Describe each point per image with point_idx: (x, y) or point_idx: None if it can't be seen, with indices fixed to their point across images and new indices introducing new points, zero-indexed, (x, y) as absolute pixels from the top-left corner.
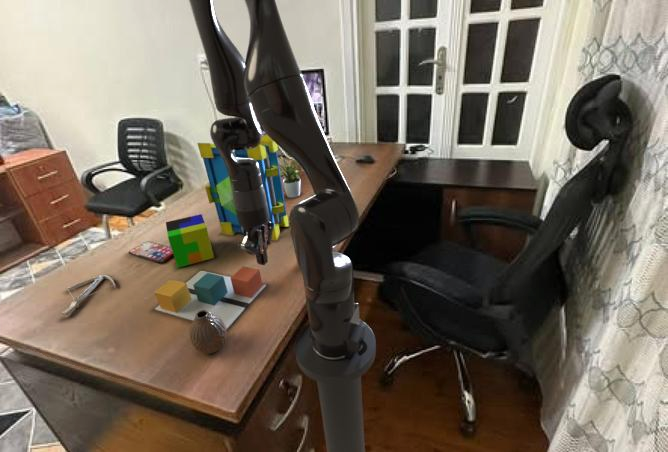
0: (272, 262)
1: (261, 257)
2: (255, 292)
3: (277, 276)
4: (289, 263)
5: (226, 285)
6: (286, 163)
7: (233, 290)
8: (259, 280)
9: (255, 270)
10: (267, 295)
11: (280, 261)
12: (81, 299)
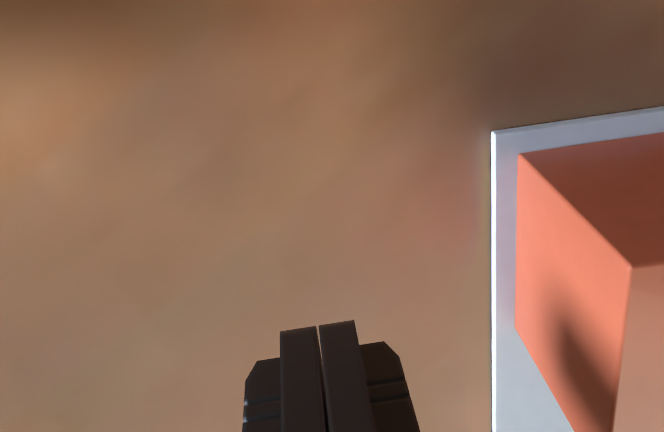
0: (123, 330)
1: (391, 423)
2: (662, 138)
3: (297, 125)
4: (17, 159)
5: None
6: None
7: None
8: (601, 187)
9: (661, 300)
10: (630, 3)
11: (56, 272)
12: None
